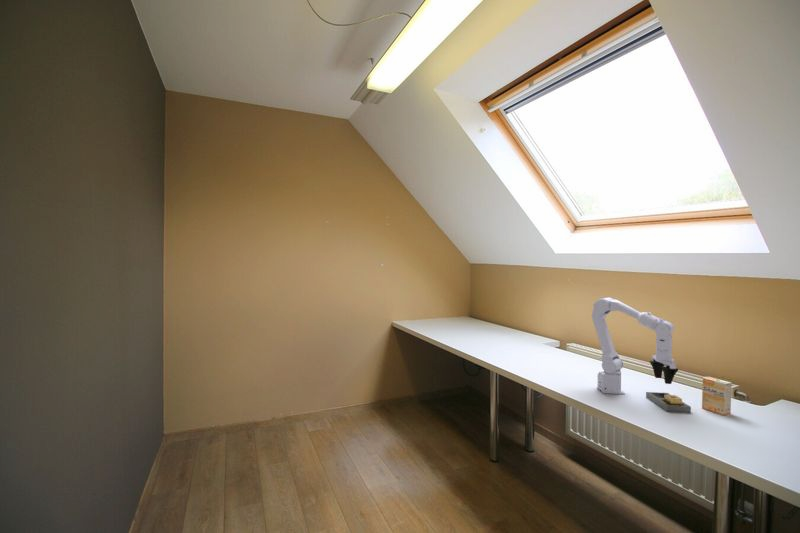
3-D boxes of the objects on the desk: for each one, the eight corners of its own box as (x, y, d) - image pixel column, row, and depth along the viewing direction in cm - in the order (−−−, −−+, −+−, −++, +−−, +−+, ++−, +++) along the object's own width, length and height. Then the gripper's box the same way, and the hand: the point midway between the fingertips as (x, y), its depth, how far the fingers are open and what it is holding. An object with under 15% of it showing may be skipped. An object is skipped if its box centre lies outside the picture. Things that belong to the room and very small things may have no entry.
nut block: (670, 410, 156) (670, 398, 156) (664, 406, 160) (664, 394, 160) (681, 411, 155) (682, 398, 155) (675, 406, 160) (675, 394, 160)
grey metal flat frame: (666, 411, 154) (667, 405, 154) (646, 397, 170) (646, 392, 170) (690, 412, 153) (690, 406, 153) (667, 398, 169) (667, 392, 169)
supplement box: (701, 408, 158) (701, 377, 158) (708, 406, 160) (708, 376, 160) (724, 416, 150) (725, 383, 150) (731, 414, 152) (732, 381, 152)
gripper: (684, 354, 155) (683, 386, 155) (664, 345, 169) (663, 375, 170) (665, 353, 156) (665, 386, 156) (647, 345, 170) (646, 375, 171)
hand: (663, 380), depth 163 cm, fingers open, 7 cm apart
